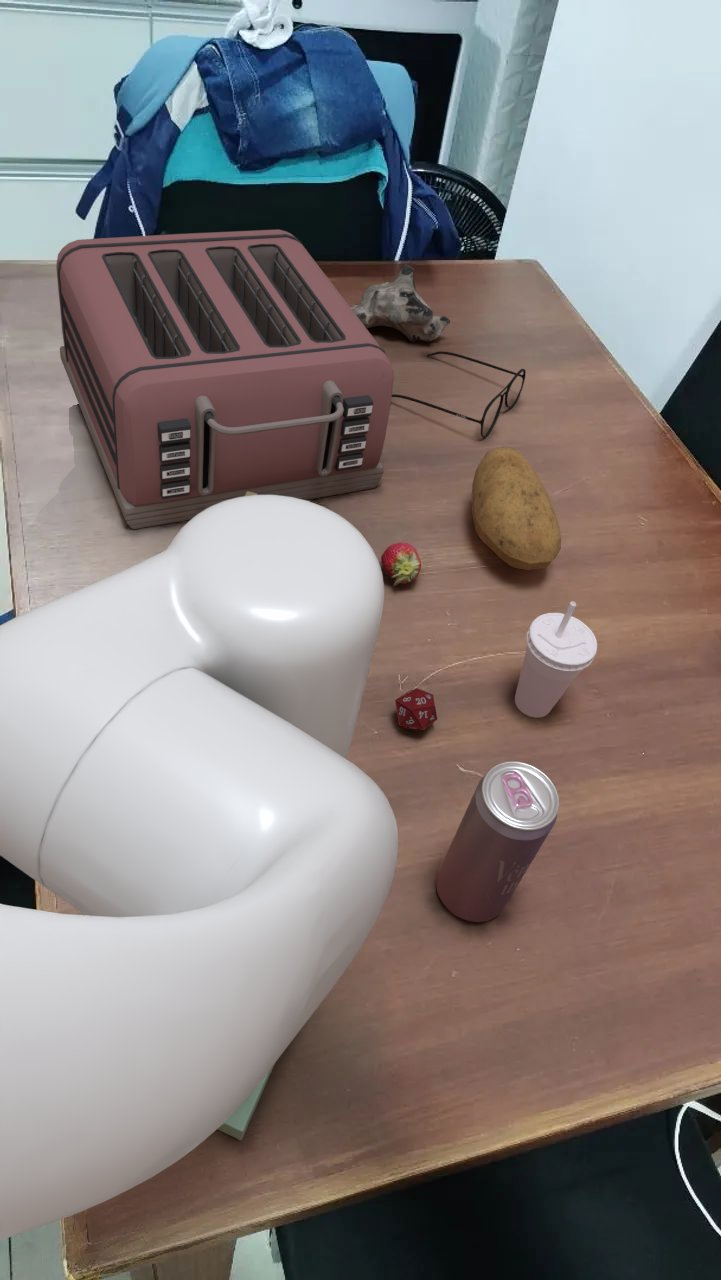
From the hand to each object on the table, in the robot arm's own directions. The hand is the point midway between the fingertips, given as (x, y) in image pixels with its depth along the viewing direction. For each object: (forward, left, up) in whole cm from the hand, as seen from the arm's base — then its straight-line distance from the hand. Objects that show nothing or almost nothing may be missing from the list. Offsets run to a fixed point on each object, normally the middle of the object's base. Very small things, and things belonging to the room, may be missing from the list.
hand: (232, 944), depth 52 cm
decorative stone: (+98, +23, -17) cm, 102 cm away
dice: (+33, -3, -17) cm, 37 cm away
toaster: (+63, +32, -17) cm, 72 cm away
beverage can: (+19, -13, -17) cm, 29 cm away
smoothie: (+41, -13, -17) cm, 46 cm away
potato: (+62, -4, -17) cm, 64 cm away
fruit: (+51, +5, -17) cm, 54 cm away
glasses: (+87, +10, -17) cm, 89 cm away
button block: (0, 0, -17) cm, 17 cm away
